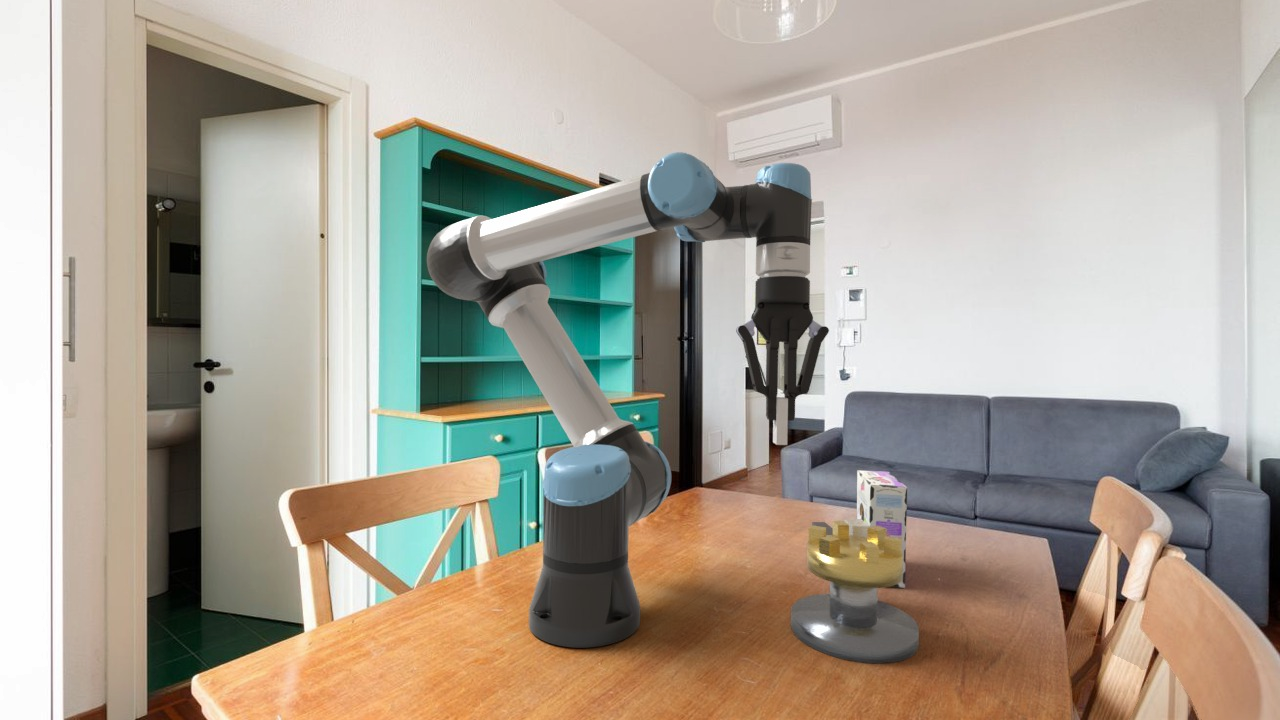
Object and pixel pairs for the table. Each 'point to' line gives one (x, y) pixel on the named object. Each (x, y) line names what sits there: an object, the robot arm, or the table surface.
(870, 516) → the candy box
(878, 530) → the gold studded disc
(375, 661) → the table surface
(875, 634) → the nut base
